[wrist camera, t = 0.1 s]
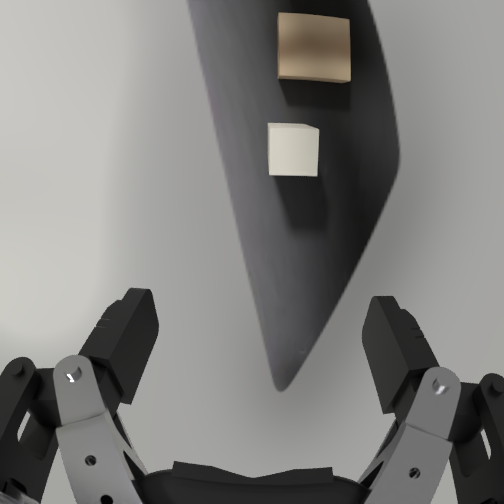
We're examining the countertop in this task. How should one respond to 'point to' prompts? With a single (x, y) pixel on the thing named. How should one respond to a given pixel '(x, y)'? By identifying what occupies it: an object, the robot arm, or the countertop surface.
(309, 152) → the cream block
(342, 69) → the oak plinth
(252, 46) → the countertop surface
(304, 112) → the countertop surface
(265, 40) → the countertop surface
